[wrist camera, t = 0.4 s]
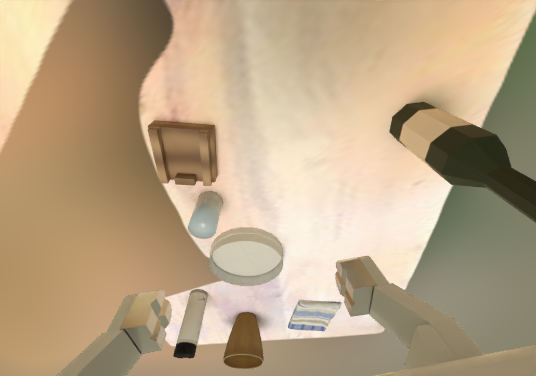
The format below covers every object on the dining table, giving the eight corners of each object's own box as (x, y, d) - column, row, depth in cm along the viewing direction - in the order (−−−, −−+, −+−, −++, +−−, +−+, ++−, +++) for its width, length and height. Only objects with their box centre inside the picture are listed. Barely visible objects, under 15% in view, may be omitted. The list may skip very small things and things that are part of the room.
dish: (290, 264, 73) (292, 277, 69) (230, 278, 77) (228, 291, 73) (268, 218, 61) (269, 231, 57) (197, 237, 65) (193, 251, 61)
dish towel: (341, 300, 88) (343, 307, 86) (323, 326, 101) (325, 333, 99) (299, 297, 86) (300, 304, 84) (286, 324, 100) (287, 331, 97)
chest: (154, 120, 44) (143, 129, 40) (214, 125, 45) (209, 135, 41) (165, 171, 51) (156, 183, 47) (217, 175, 52) (213, 187, 48)
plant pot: (264, 307, 89) (265, 355, 76) (262, 324, 98) (262, 369, 85) (227, 307, 88) (221, 354, 75) (228, 324, 97) (223, 369, 84)
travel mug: (206, 288, 80) (192, 354, 64) (208, 298, 84) (195, 362, 68) (189, 288, 80) (170, 354, 64) (191, 297, 84) (174, 362, 68)
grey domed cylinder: (197, 190, 55) (186, 218, 47) (222, 192, 55) (215, 220, 47) (199, 209, 58) (189, 238, 50) (222, 210, 59) (216, 239, 50)
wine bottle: (433, 129, 46) (622, 239, 22) (393, 147, 49) (523, 265, 24) (429, 93, 42) (656, 179, 18) (385, 114, 44) (533, 218, 20)
